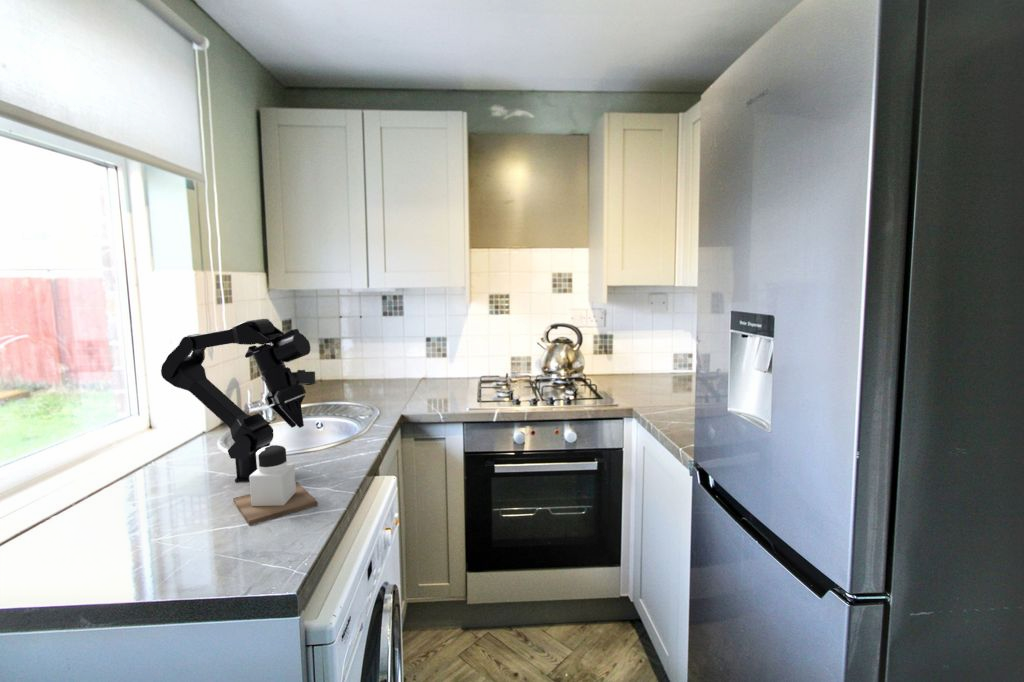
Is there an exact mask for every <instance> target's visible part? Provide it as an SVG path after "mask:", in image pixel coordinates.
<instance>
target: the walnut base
mask: <svg viewBox="0 0 1024 682" xmlns="http://www.w3.org/2000/svg"><path fill="white" fill-rule="evenodd" d="M295 484H296V493H295V494H294V495H293V496H292V497H291V498H290V499H289V500H288V502H287V503H286V504H285V505H284V506H252V505H251V493H249V494H244V495H242V496H241V495H240V496H236V497H233V498H232V499H233V500H232V502H233V504H234V505H235V507H236V508H237V510H238V511H239V513H240V514H241V516H242V517H243V519H244V520H245V522H246V523H247V524H248V526H251V525H256V524H258V523H262V522H266V521H269V520H273V519H275V518H278V517H283V516H287V515H289V514H293V513H298V512H300V511H303V510H307V509H310V508H314V507H318V500H317V499H315V498H314V497H313V495H311V494H310V493H309V492H308V491H307V490H306V489H305V488H304V487H303V486H302V485H301V484H300V483H299V482H297V481H295Z"/></svg>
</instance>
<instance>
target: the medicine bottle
mask: <svg viewBox="0 0 1024 682" xmlns="http://www.w3.org/2000/svg"><path fill="white" fill-rule="evenodd" d="M256 461H257V470H256V471H255V472H253V473H252V474H251V475H250V476H249V480H250V481H249V488H250V489H249V490H250V492H249V493H250V494H251V505H252V506H284V505H285V504H286V503H287V502H288V500H289V499H290V498H291V497H292V496H293V495H294V494H295V493H296V484H295V482H296V472H295V471H296V470H295V463H288V462H287V449H286V448H285V446H282V445H275V444H274V445H270V446H266V447H263V448H261V449H259V450H258V451H257V452H256Z"/></svg>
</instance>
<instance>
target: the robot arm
mask: <svg viewBox="0 0 1024 682" xmlns="http://www.w3.org/2000/svg"><path fill="white" fill-rule="evenodd" d="M310 343H311V342H310V341H309V340H308V339H307V337H306V336H305V335H304V334H303V333H300V330H299V329H298V328H294V329H290V330H288V331H287V332H286V333H285V332H283V330H280V329H279V328H277V327H276V326H274V324H273V323H272V321H270V319H269V318H259V319H253V320H246V321H243V322H241V323H238V324H236V325H234V326H233V327H230V328H228V329H222V330H215V331H211V332H206V333H193V334H188V335H185V336H184V337H182V338H181V340H180V342H179V344H177V346H176V347H175V348H174V349H173V350H172V351H171V352H170V353H169V354H168V355H167V357H166V359H165V361H164V362H163V363H162V365H161V369H160V375H161V377H162V378H163V379H164V380H165V381H166V382H167V383H169V384H171V385H172V386H173V387H175V388H177V389H181V390H184V391H187V392H189V393H190V394H192V395H193V396H194V397H195V398H196V399H197V400H198V401H199V402H200V403H201V404H203V405H204V406H205V407H206V408H207V409H208V410H209V411H210V412H212V413H213V414H214V415H215V416H216V417H217V418H218V419H219V420H221V422H222V423H223V424H225V426H227V427H228V428H229V430H230V434H231V439H232V440H233V442H234V443H233V444H232V445H231V446H230V447H229V448H228V449H227V453H228V456H229V458H230V459H235V469H236V470H235V472H236V477H235V479H234V482H235V483H238V482H239V483H240V482H250V480H249V476H250V475H251V474H252V473H253V472H255V471H256V470H257V461H256V452H257V451H258V450H259V449H261V448H263V447H266V446H271V442H273V439H274V428H273V427H272V425H270V424H271V422H270V421H269V420H266V419H265V418H264V417H263V415H261V414H260V413H259V412H258V413H255V414H252V415H251V414H248V413H246V412H245V411H244V410H242V409H241V407H240V406H238V405H237V404H236V403H235V402H233V400H231V399H230V398H229V397H228V396H227V395H226V394H225V393H223V392H222V391H221V390H220V389H219V388H218V387H217V386H216V385H215V384H214V383H212V382H211V381H210V380H209V379H208V378H207V375H206V374H207V373H206V369H205V367H204V366H203V363H204V361H205V357H206V353H205V350H206V349H207V348H211V347H219V346H223V345H228V344H236V345H237V344H238V345H244V346H245V345H246V346H247V345H248V348H247V351H246V352H245V355H244V357H245V358H246V359H247V358H248V359H249V358H252V357H253V358H254V361H255V362H256V365H257V367H258V370H259V371H260V374H261V376H260V378H261V380H262V381H263V382H264V384H265V386H266V388H267V391H268V392H267V394H266V396H265V398H264V401H265V402H266V405H267V407H268V406H269V408H270V409H271V410H272V411H274V413H276V415H278V417H280V418H281V419H282V420H283V421H284V422H285V423H286V424H287V425H288V426H289V427H291V428H295V427H298V428H300V429H301V428H303V427H305V426H304V425H305V424H304V417H303V409H302V403H303V400H304V398H305V397H306V393H307V392H306V388H305V387H304V385H306V386H313V385H316V371H306V370H305V369H297V370H296V371H292V369H291V368H290V367H289V366H287V367H286V364H285V363H290V362H292V361H296V360H297V359H300V358H302V357H305V356H308V355H309V354H310V353H311V344H310ZM251 345H252V346H251ZM256 345H260V346H256Z"/></svg>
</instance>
